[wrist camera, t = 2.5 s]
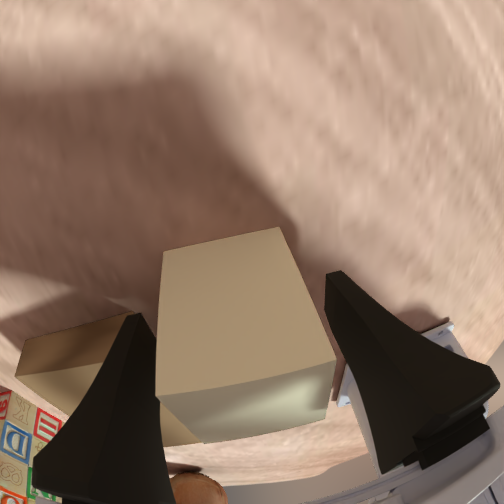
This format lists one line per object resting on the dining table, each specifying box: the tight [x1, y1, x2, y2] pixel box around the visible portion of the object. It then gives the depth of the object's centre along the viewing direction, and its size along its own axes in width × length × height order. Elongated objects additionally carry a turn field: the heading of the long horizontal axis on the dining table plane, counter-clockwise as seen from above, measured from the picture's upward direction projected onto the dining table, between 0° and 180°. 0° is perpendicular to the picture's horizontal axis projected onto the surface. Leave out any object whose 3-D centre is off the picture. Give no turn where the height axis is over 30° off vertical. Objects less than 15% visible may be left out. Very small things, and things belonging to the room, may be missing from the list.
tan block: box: [15, 311, 202, 447], centre depth 16 cm, size 8×12×3 cm, turn 15°
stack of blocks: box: [0, 390, 65, 504], centre depth 18 cm, size 21×6×12 cm, turn 23°
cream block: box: [155, 227, 337, 444], centre depth 10 cm, size 4×4×6 cm
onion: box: [169, 471, 228, 504], centre depth 29 cm, size 10×9×10 cm
